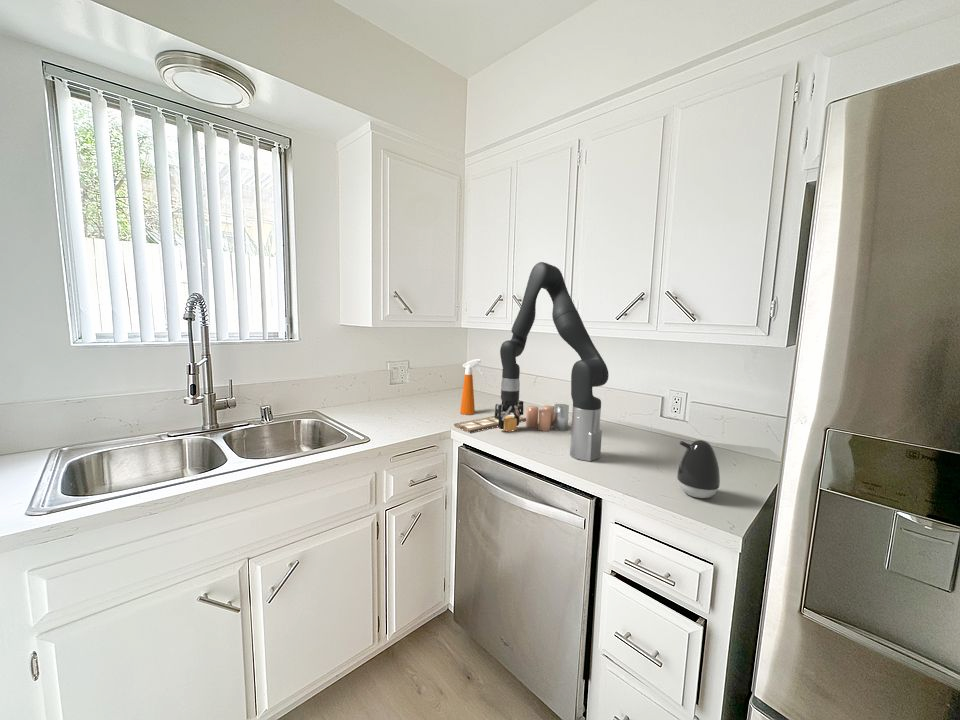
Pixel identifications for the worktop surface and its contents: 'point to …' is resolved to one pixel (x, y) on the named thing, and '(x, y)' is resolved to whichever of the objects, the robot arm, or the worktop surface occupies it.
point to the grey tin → (561, 416)
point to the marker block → (510, 423)
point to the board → (482, 423)
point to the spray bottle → (469, 388)
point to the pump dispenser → (699, 470)
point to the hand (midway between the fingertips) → (508, 427)
